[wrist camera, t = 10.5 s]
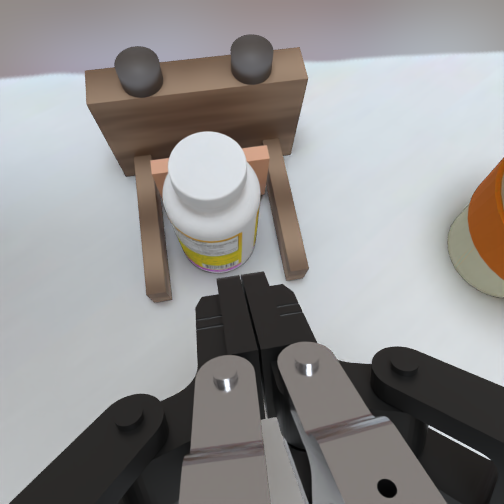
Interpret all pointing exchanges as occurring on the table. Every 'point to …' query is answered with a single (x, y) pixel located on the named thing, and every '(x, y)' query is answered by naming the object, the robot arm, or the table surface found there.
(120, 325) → the table surface
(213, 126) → the cradle
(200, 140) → the supplement bottle
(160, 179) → the plate
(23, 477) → the table surface
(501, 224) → the reusable coffee cup
